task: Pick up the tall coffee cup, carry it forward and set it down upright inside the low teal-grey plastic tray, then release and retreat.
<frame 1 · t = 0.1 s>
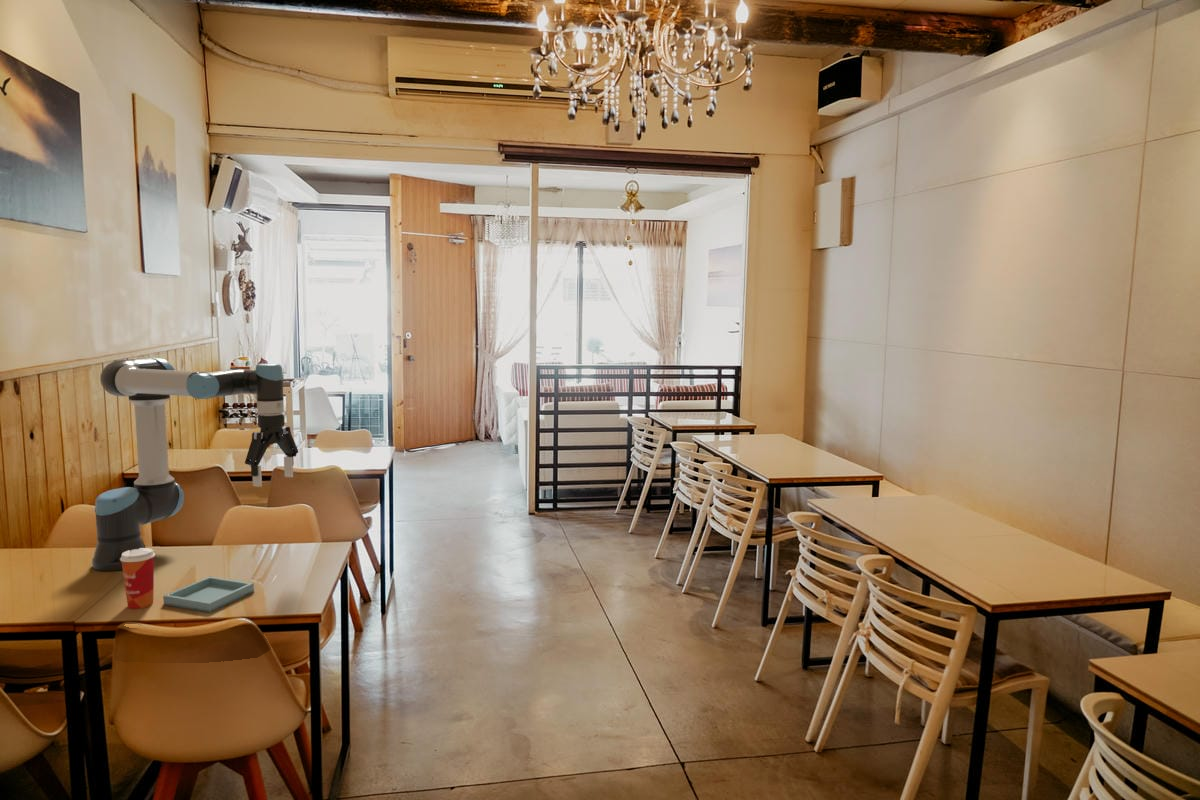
hand: (273, 481, 232), 28 cm above the table, fingers open, 13 cm apart
coffee cup: (140, 605, 206), on the table
tray: (210, 598, 211), on the table
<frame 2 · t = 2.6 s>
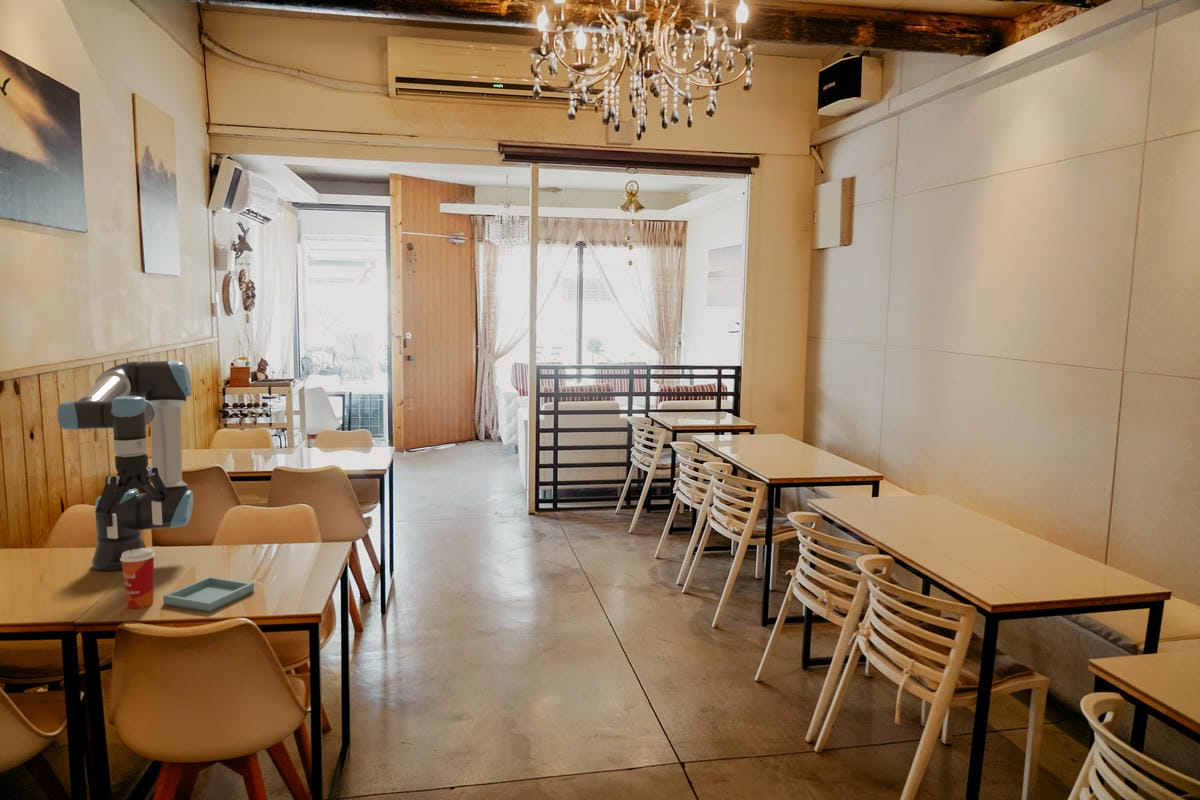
hand: (135, 531, 203), 21 cm above the table, fingers open, 13 cm apart
nothing on the table moved.
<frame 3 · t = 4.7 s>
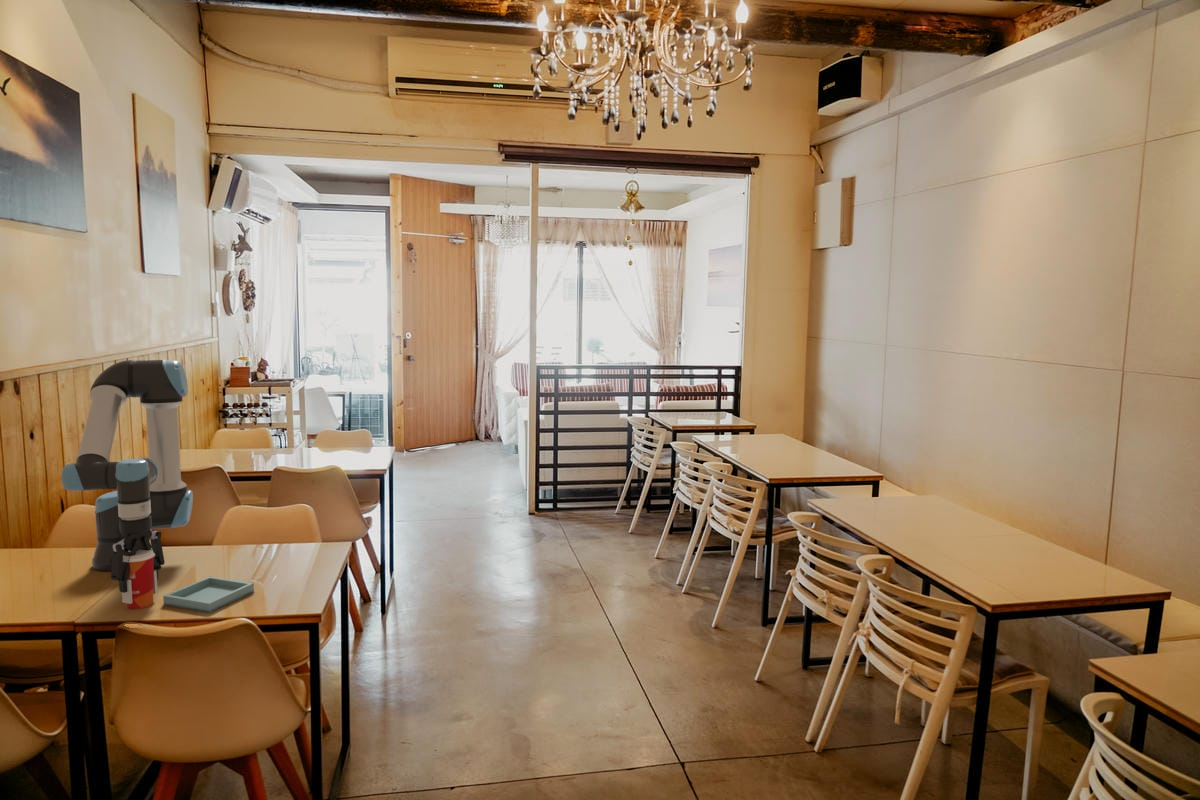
hand: (140, 597, 205), 2 cm above the table, fingers closed on coffee cup, 7 cm apart
coffee cup: (140, 605, 206), on the table, touching gripper
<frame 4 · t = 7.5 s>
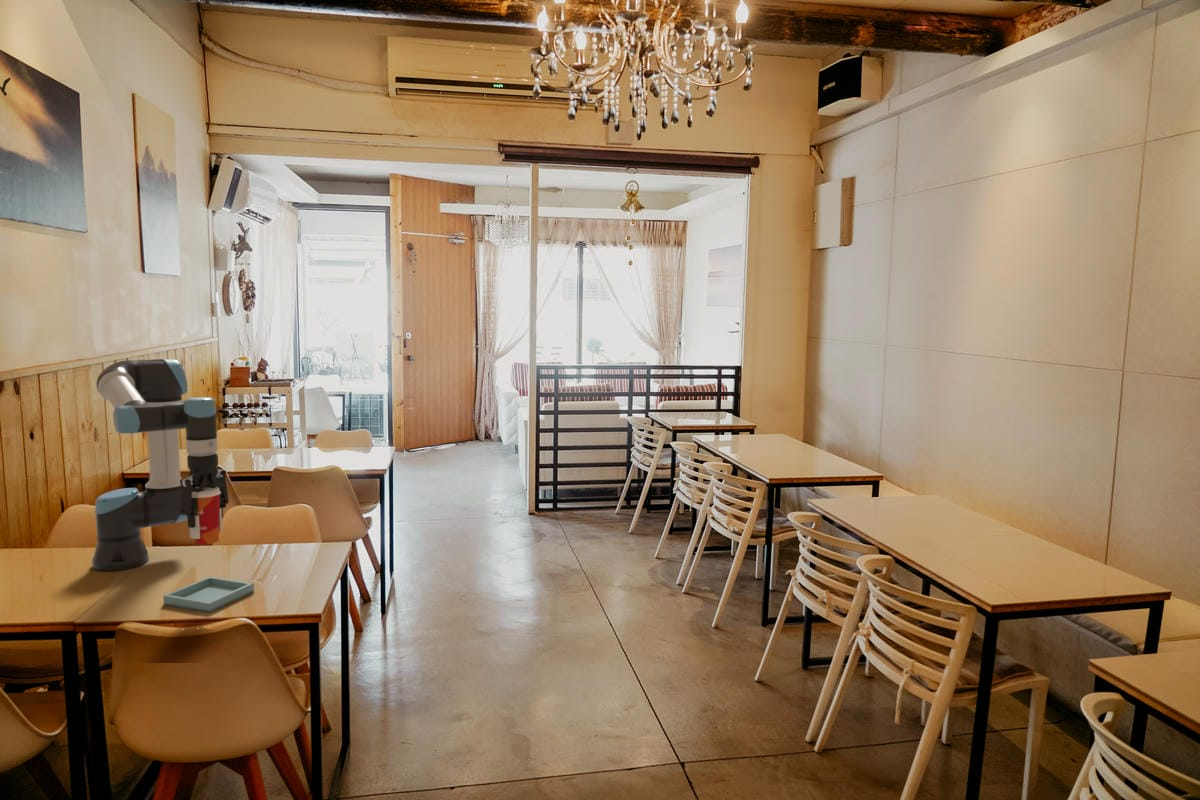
hand: (206, 534, 208), 19 cm above the table, fingers closed on coffee cup, 7 cm apart
coffee cup: (207, 542, 209), point 16 cm above the table, touching gripper
when the fingers open (4 cm above the table, at t = 10.6 s): coffee cup stays where it is, resting on tray.
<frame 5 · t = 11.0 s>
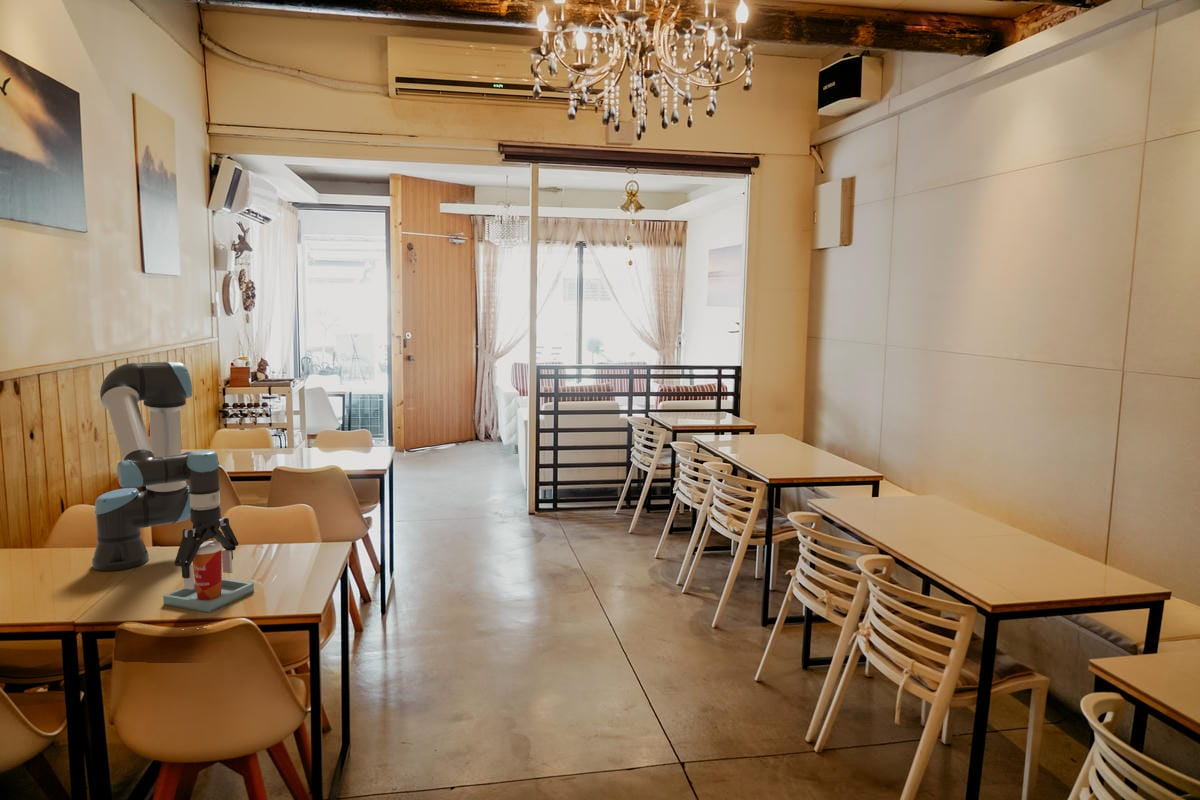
hand: (209, 580, 210), 5 cm above the table, fingers open, 13 cm apart
coffee cup: (209, 596, 211), resting on tray
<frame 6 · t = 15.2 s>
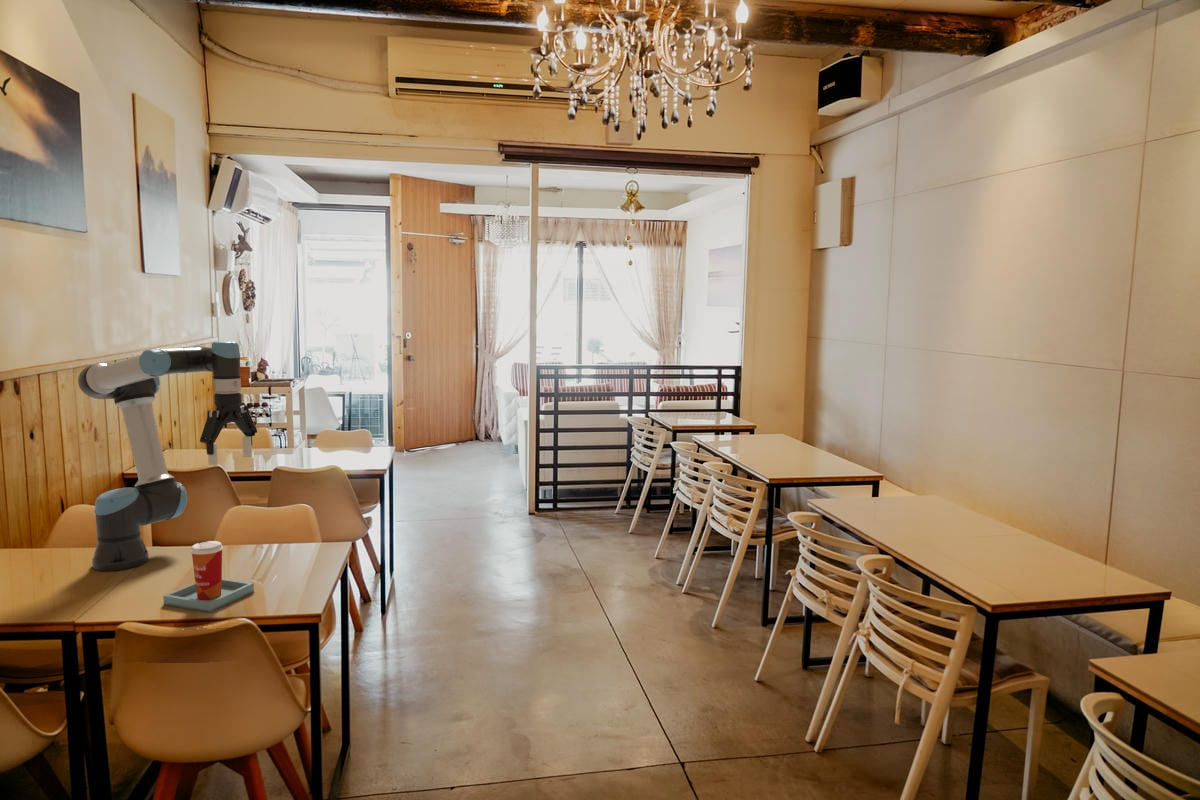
hand: (230, 460, 230), 35 cm above the table, fingers open, 13 cm apart
nothing on the table moved.
at the end: coffee cup inside the target area on the tray (0.1 cm from its centre), point 0.4 cm above the tray's base; coffee cup tilted 0°; the gripper is holding nothing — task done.
